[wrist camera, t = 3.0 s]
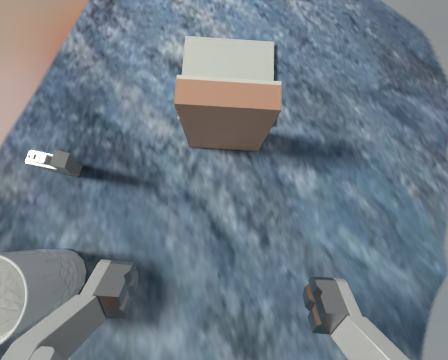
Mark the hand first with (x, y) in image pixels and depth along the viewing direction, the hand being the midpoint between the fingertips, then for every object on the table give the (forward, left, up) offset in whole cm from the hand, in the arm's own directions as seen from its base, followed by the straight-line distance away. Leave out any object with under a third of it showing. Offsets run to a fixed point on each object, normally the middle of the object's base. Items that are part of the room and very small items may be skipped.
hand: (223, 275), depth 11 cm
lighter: (+22, +2, -20) cm, 30 cm away
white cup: (+15, +14, -20) cm, 29 cm away
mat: (+12, -21, -20) cm, 31 cm away
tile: (+7, -13, -20) cm, 25 cm away
